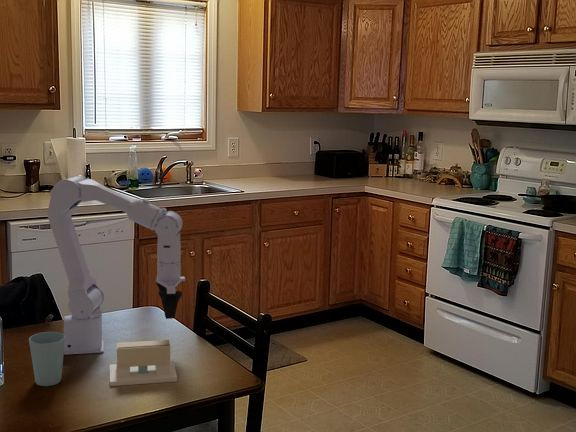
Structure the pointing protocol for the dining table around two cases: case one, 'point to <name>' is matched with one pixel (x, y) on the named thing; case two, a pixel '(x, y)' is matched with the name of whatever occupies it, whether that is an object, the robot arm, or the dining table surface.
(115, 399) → the dining table surface
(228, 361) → the dining table surface
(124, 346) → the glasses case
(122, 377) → the display stand
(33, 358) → the cup
